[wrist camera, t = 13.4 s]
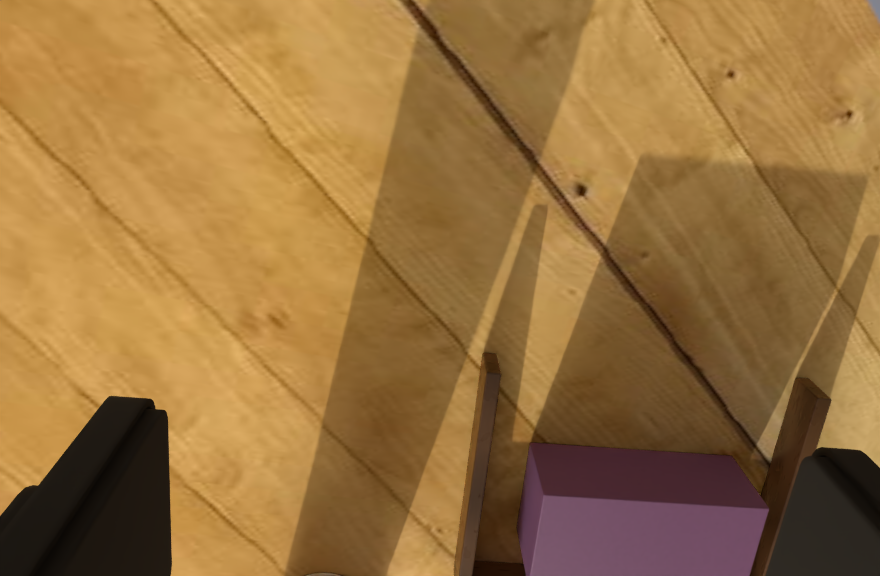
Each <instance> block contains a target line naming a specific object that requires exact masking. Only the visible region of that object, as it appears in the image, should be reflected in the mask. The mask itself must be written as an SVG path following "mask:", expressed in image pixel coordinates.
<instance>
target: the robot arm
mask: <svg viewBox="0 0 880 576" xmlns="http://www.w3.org/2000/svg"><path fill="white" fill-rule="evenodd" d="M171 567H172V556H171V518H170V480H169V442H168V416H167V413H166V411H165V410H156V409H155V405H154V402H153V400H152V399H146V398H132V397H118V396H109V397H108V398H107V399H106V400H105V401H104V402H103V404H102V405H101V406H100V408H99V409H98V410H97V411H96V413H95V414H94V415H93V417H92V418H91V419H90V420H89V422H88V423H87V424H86V426H85V427H84V428H83V429H82V431H81V432H80V433H79V434H78V436H77V437H76V438H75V440H74V441H73V442H72V443H71V445H70V446H69V447H68V449H67V450H66V451H65V452H64V454H63V455H62V456H61V457H60V459H59V460H58V461H57V463H56V464H55V465H54V466H53V468H52V469H51V470H50V472H49V473H48V474H47V475H46V477H45V478H44V479H43V481H42V482H41V483H40V484H39V486H35V485H32V486H29V487H26V488H24V489H23V490H22V491H21V492H20V493H19V494H18V495H17V496H16V497H15V499H14V500H13V501H12V502H11V504H10V505H9V506H8V507H7V509H6V510H5V511H4V512H3V514H2V515H1V516H0V576H170V575H171ZM765 576H880V468H879V467H878V466H877V465H876V464H875V463H874V462H873V461H872V460H871V459H870V458H869V457H868V456H867V455H866V454H865V453H863V452H862V451H860V450H851V449H837V448H824V447H821V448H818V449H816V450H815V451H814V452H813V454H812V456H807V457H805V458H804V459H803V460H802V462H801V464H800V467H799V470H798V473H797V476H796V479H795V483H794V486H793V489H792V492H791V495H790V499H789V502H788V505H787V508H786V511H785V515H784V518H783V521H782V524H781V527H780V531H779V534H778V537H777V540H776V543H775V547H774V550H773V553H772V556H771V559H770V563H769V566H768V569H767V572H766V575H765Z"/></svg>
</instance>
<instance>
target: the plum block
mask: <svg viewBox="0 0 880 576" xmlns="http://www.w3.org/2000/svg"><path fill="white" fill-rule="evenodd" d="M768 511H769V508H768V506H767V505H766V503H765V502H764V501H763V499H762V498H761V496H760V495H759V494H758V492H757V491H756V489H755V488H754V486H753V485H752V484H751V482H750V481H749V479H748V478H747V477H746V475H745V474H744V472H743V471H742V469H741V468H740V467H739V465H738V464H737V462H736V461H735V460H734V458H733V457H732V456H726V455H710V454H695V453H680V452H665V451H650V450H635V449H620V448H605V447H590V446H575V445H559V444H544V443H530V446H529V452H528V458H527V465H526V471H525V477H524V484H523V490H522V496H521V503H520V509H519V515H518V522H517V533H518V538H519V543H520V548H521V553H522V558H523V563H524V568H525V573H526V576H750V572H751V569H752V565H753V562H754V559H755V555H756V552H757V548H758V545H759V542H760V538H761V535H762V531H763V528H764V525H765V521H766V518H767V515H768Z"/></svg>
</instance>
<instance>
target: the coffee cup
mask: <svg viewBox="0 0 880 576" xmlns="http://www.w3.org/2000/svg"><path fill="white" fill-rule="evenodd" d="M306 576H341V575H337V574H333V573H314V574H310V575H306Z"/></svg>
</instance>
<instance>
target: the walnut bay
mask: <svg viewBox="0 0 880 576" xmlns="http://www.w3.org/2000/svg"><path fill="white" fill-rule="evenodd" d="M500 381H501V371H500V367H499V363H498V358H497V354H492V353H483V354H482V361H481V369H480V376H479V384H478V391H477V399H476V406H475V414H474V421H473V428H472V436H471V443H470V451H469V458H468V466H467V473H466V481H465V488H464V496H463V503H462V511H461V518H460V526H459V533H458V541H457V548H456V556H455V563H454V576H526V573H525V568H524V564H516V563H500V562H483V561H474V560H475V554H476V547H477V540H478V533H479V526H480V519H481V512H482V505H483V498H484V491H485V484H486V478H487V471H488V464H489V457H490V450H491V443H492V436H493V429H494V422H495V415H496V408H497V402H498V395H499V388H500ZM830 403H831V399H830V398H829V397H828V396H827V395H826V394H825V393H824V392H823V391H822V390H821V389H820V388H819V387H817V386H816V385H815V384H814V383H813V382H812V381H811V380H810V379H808V378H796V379H795V383H794V386H793V389H792V393H791V396H790V400H789V403H788V406H787V410H786V413H785V417H784V420H783V423H782V427H781V430H780V434H779V437H778V440H777V444H776V447H775V450H774V454H773V457H772V461H771V464H770V467H769V471H768V474H767V478H766V481H765V484H764V488H763V491H762V494H761V498H762V499H763V501H764V502H765V503H766V505H767V506H768V508H769V511H768V515H767V518H766V521H765V525H764V528H763V531H762V535H761V538H760V542H759V545H758V548H757V552H756V555H755V559H754V562H753V565H752V569H751V572H750V576H765V575H766V572H767V569H768V566H769V563H770V559H771V556H772V553H773V550H774V547H775V543H776V540H777V537H778V534H779V531H780V527H781V524H782V521H783V518H784V515H785V511H786V508H787V505H788V502H789V499H790V495H791V492H792V489H793V486H794V483H795V479H796V476H797V473H798V470H799V467H800V464H801V462H802V460H803V459H804V458H805V457H807V456H812V454H813V452H814V451H815V450H816V447H817V444H818V441H819V438H820V435H821V432H822V428H823V425H824V422H825V419H826V416H827V413H828V409H829V406H830Z"/></svg>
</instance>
